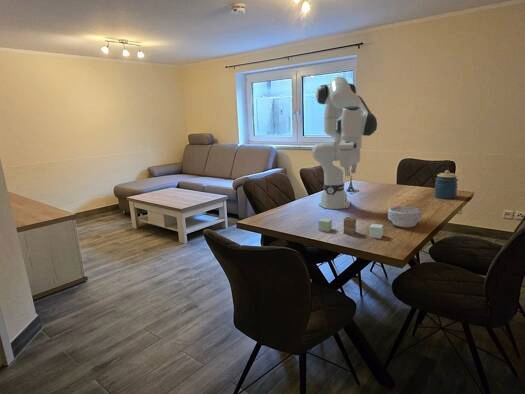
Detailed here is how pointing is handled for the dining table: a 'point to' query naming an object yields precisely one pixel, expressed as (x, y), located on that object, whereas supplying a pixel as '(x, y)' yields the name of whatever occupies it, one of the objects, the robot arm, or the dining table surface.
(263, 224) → the dining table surface
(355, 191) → the eiffel tower figurine
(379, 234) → the grey cube
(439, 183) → the canister
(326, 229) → the sage cube
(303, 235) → the dining table surface
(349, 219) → the walnut block
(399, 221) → the paper bowls
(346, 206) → the robot arm
